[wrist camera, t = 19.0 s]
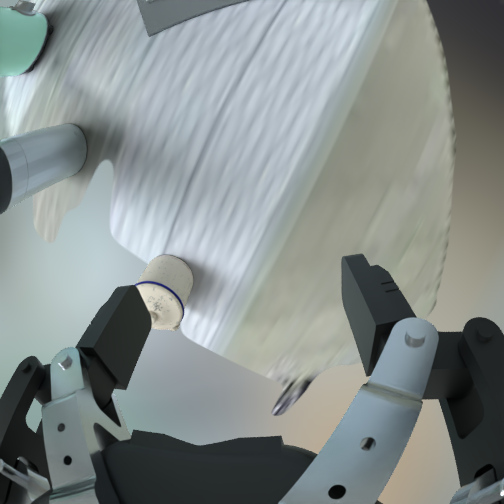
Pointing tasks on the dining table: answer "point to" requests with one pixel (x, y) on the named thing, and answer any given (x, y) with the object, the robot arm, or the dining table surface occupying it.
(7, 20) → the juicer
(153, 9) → the rubber mat
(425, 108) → the dining table surface
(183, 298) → the teacup with lid
